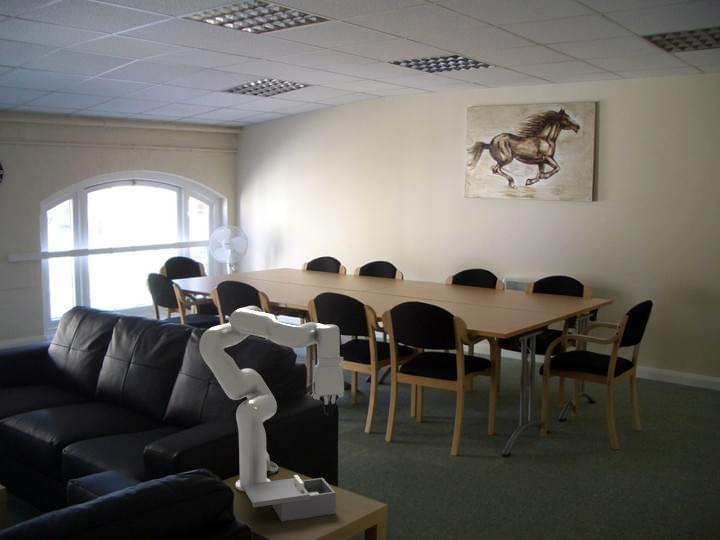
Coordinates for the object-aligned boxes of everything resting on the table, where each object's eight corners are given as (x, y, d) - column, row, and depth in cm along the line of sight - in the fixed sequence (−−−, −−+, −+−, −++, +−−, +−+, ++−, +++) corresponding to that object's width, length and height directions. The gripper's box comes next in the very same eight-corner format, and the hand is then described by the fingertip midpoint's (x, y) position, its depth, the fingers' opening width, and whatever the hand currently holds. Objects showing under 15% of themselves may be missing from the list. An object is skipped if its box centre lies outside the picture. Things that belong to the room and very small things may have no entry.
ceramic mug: (250, 476, 277) (250, 456, 276) (249, 468, 285) (249, 448, 284) (279, 474, 279) (279, 454, 278) (277, 467, 287) (277, 447, 286)
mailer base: (271, 505, 250) (271, 484, 250) (322, 497, 256) (322, 477, 256) (281, 521, 237) (281, 500, 237) (335, 513, 243) (335, 492, 243)
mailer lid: (242, 489, 247) (242, 477, 247) (296, 482, 254) (296, 470, 253) (252, 507, 233) (252, 494, 232) (309, 499, 239) (309, 486, 239)
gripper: (345, 357, 258) (345, 409, 260) (303, 360, 253) (304, 414, 255) (353, 362, 251) (353, 415, 253) (310, 365, 246) (310, 420, 248)
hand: (328, 414), depth 254 cm, fingers closed
